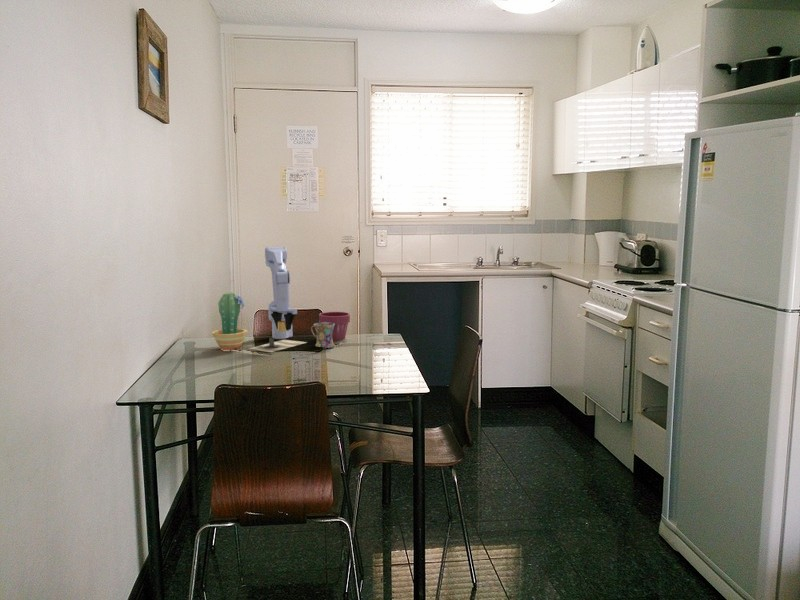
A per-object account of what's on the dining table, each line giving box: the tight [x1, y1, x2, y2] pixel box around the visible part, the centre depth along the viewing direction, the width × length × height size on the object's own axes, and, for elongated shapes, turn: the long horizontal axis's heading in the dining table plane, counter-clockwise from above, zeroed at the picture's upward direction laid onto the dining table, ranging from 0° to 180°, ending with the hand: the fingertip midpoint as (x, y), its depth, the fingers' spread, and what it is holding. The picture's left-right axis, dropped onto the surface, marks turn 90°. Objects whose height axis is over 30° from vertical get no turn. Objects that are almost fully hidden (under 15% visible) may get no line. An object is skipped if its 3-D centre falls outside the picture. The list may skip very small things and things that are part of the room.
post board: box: [246, 337, 308, 355], centre depth 300 cm, size 24×14×5 cm, turn 148°
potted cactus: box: [211, 292, 248, 351], centre depth 297 cm, size 15×15×25 cm
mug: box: [310, 322, 335, 350], centre depth 301 cm, size 12×9×11 cm
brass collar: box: [278, 321, 289, 331], centre depth 302 cm, size 5×5×4 cm
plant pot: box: [318, 311, 351, 341], centre depth 315 cm, size 14×14×13 cm
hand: (283, 329), depth 302 cm, fingers closed on brass collar, 5 cm apart
